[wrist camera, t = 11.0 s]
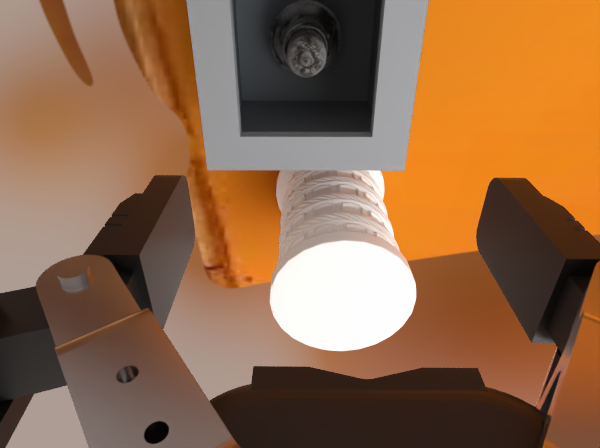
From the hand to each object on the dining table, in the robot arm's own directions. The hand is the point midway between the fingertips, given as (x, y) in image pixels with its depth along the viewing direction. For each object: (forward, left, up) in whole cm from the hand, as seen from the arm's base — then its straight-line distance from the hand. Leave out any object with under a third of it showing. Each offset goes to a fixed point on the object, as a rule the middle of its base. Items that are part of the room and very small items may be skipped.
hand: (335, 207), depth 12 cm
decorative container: (+16, +2, -32) cm, 36 cm away
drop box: (0, -1, -32) cm, 32 cm away
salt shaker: (0, -1, -32) cm, 32 cm away
